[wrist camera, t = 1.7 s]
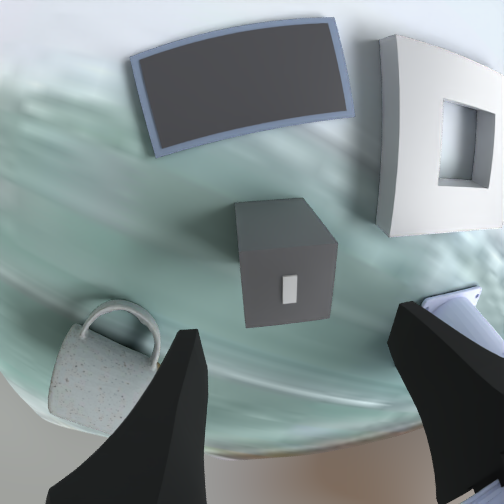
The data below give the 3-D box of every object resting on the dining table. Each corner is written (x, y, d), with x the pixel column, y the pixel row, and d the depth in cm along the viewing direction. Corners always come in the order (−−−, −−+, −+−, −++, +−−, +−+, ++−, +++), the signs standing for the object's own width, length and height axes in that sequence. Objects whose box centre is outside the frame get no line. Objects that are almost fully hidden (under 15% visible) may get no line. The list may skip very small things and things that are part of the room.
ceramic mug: (149, 390, 24) (139, 459, 18) (71, 359, 22) (45, 424, 15) (188, 317, 21) (179, 405, 14) (85, 273, 18) (38, 349, 11)
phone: (347, 115, 15) (356, 116, 14) (161, 154, 15) (155, 158, 14) (327, 22, 12) (334, 16, 11) (136, 60, 13) (129, 56, 11)
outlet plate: (487, 218, 18) (502, 228, 17) (375, 224, 18) (389, 237, 16) (499, 80, 13) (517, 82, 11) (379, 39, 12) (396, 34, 10)
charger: (301, 257, 19) (329, 319, 13) (239, 263, 19) (246, 329, 13) (302, 197, 17) (338, 244, 11) (234, 202, 17) (238, 253, 11)
